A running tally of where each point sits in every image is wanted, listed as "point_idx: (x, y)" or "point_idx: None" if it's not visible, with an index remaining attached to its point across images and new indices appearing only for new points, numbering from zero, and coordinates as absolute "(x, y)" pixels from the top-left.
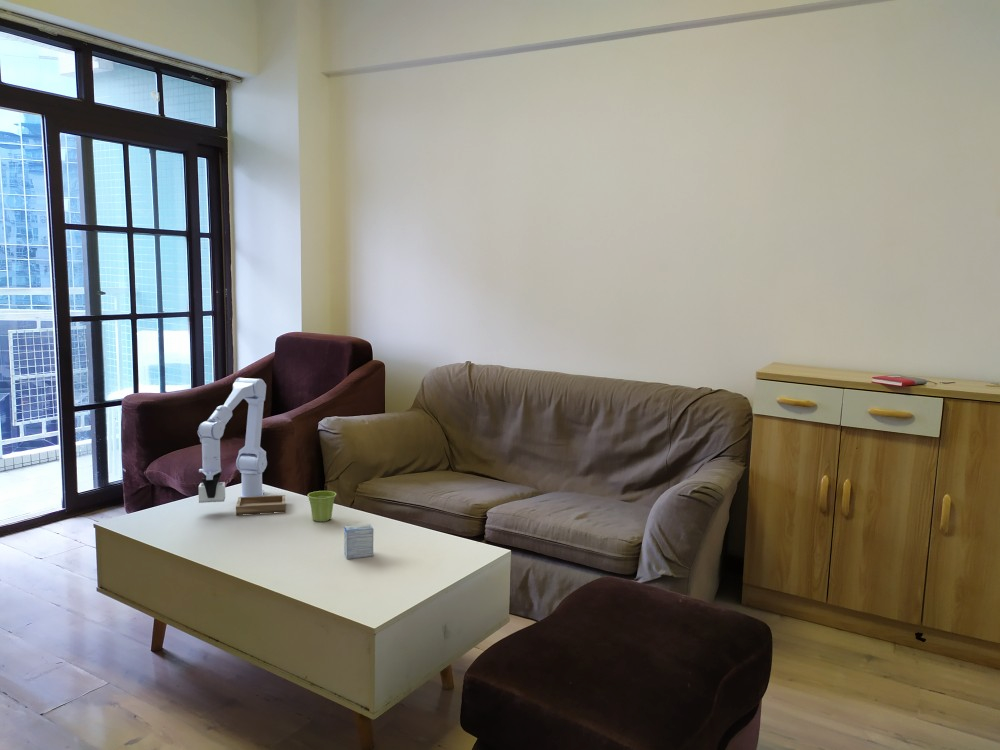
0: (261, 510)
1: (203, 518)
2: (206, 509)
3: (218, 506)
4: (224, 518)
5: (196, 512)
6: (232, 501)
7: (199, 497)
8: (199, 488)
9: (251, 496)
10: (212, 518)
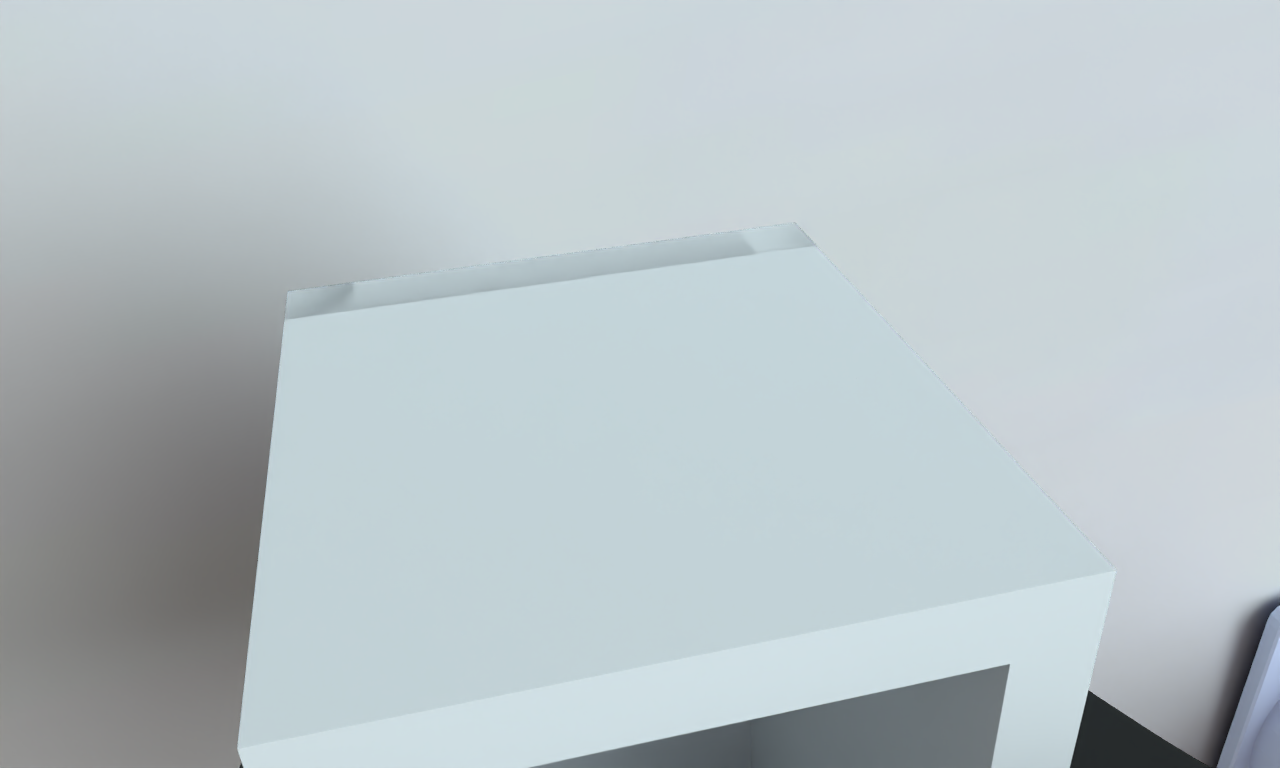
0: None
1: (33, 310)
2: (799, 198)
3: (959, 381)
4: (82, 695)
5: (583, 13)
6: (1195, 522)
7: (280, 416)
8: (260, 709)
9: (1259, 745)
10: (56, 495)
